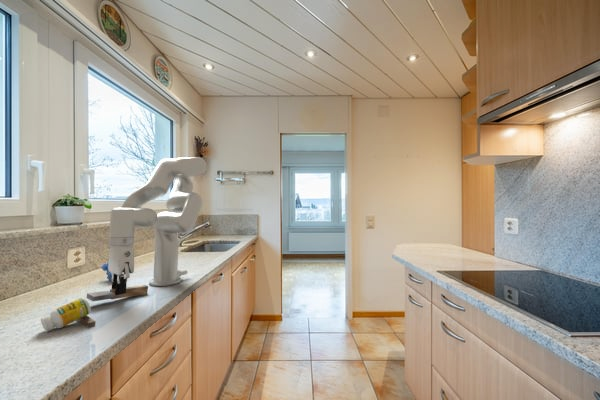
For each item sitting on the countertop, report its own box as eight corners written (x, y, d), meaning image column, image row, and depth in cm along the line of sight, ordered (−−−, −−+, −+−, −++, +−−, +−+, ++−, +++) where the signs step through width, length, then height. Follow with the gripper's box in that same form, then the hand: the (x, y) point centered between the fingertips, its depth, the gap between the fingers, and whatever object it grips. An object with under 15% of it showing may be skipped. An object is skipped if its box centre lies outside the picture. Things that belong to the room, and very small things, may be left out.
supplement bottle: (84, 309, 78) (42, 329, 70) (81, 294, 77) (37, 312, 69) (92, 316, 76) (49, 337, 68) (89, 300, 74) (44, 320, 66)
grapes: (103, 277, 120) (104, 251, 121) (120, 276, 123) (121, 251, 124) (97, 284, 110) (98, 256, 110) (116, 282, 113) (117, 255, 113)
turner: (141, 292, 102) (143, 284, 102) (149, 294, 99) (150, 286, 99) (85, 300, 87) (87, 291, 87) (92, 303, 84) (94, 294, 84)
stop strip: (82, 316, 78) (82, 312, 78) (95, 325, 73) (95, 321, 73) (75, 318, 77) (75, 314, 77) (88, 327, 71) (88, 323, 71)
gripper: (143, 242, 92) (140, 295, 91) (123, 239, 101) (120, 286, 100) (119, 244, 86) (116, 300, 85) (100, 240, 95) (97, 291, 94)
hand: (118, 292), depth 92 cm, fingers closed on turner, 2 cm apart
